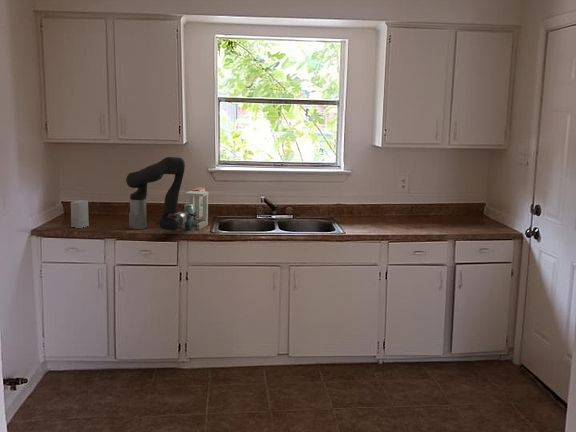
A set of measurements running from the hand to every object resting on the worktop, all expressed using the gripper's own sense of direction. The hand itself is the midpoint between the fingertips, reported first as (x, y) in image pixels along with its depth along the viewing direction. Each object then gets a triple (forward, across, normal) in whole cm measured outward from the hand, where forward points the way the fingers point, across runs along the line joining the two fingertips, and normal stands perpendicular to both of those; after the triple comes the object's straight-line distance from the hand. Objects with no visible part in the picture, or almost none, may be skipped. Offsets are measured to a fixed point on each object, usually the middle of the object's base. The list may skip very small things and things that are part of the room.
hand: (190, 214), depth 347 cm
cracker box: (+28, +4, +9) cm, 30 cm away
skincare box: (-17, +62, +9) cm, 65 cm away
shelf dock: (+8, 0, +9) cm, 12 cm away
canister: (-3, 0, +8) cm, 8 cm away
